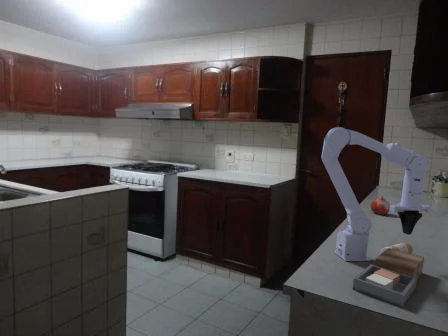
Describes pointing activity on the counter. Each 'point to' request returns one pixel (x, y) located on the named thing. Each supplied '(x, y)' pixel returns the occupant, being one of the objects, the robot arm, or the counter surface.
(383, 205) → the fruit
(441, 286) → the counter surface
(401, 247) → the sprinkles bottle
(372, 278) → the cream tile
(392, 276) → the terracotta tile
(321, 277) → the counter surface
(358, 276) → the box
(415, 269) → the walnut board
